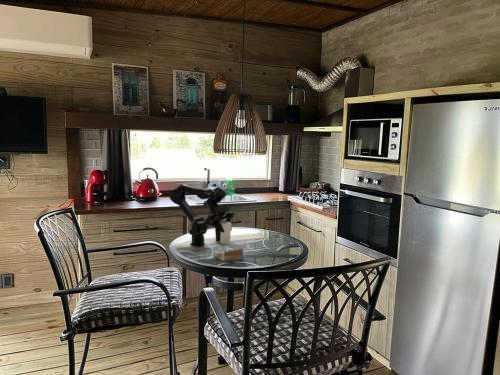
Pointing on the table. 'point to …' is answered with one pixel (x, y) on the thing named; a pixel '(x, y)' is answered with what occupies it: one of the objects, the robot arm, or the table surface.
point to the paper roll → (225, 233)
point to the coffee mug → (217, 234)
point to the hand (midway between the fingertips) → (227, 231)
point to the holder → (229, 255)
